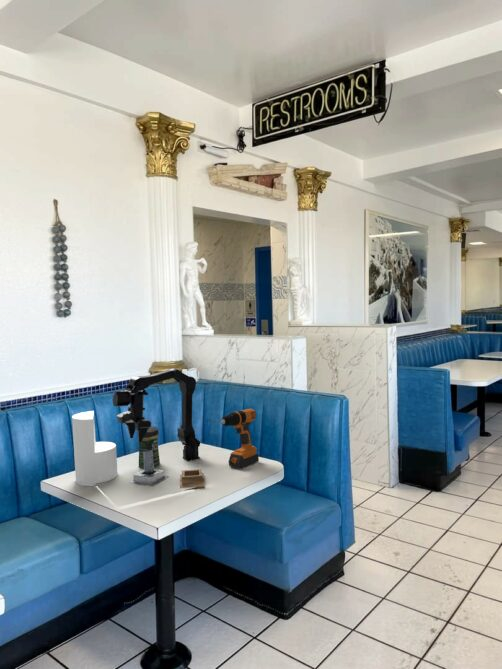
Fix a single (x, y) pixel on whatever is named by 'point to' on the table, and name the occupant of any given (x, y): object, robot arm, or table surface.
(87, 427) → the stepped white column
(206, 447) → the table surface
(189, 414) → the robot arm
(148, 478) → the socket stand
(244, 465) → the power drill
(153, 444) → the coffee jar
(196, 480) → the wooden tray
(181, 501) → the table surface
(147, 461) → the metal rod
